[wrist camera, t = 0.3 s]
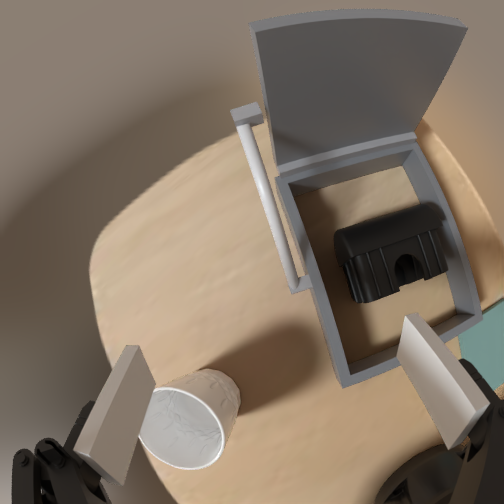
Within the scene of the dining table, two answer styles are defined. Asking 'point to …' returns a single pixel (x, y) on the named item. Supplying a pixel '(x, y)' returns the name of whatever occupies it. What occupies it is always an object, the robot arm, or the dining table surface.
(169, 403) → the white cup
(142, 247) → the dining table surface
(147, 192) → the dining table surface
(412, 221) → the end cap
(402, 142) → the case
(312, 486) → the dining table surface
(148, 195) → the dining table surface
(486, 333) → the rubber pad
